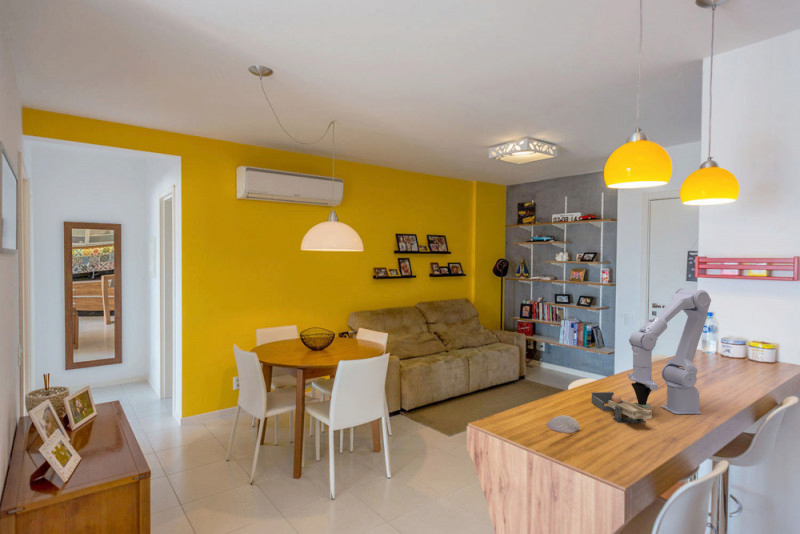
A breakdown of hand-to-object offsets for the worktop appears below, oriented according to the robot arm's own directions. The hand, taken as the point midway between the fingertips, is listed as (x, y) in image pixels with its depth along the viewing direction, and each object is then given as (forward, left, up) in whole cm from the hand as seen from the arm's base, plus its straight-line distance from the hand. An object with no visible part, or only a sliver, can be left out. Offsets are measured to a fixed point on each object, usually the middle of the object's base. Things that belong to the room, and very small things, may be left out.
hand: (642, 404), depth 152 cm
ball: (+8, -2, +1) cm, 8 cm away
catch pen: (+8, -8, -3) cm, 12 cm away
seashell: (+32, +10, -4) cm, 34 cm away
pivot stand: (+8, +6, -3) cm, 11 cm away
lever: (+4, +6, 0) cm, 7 cm away
